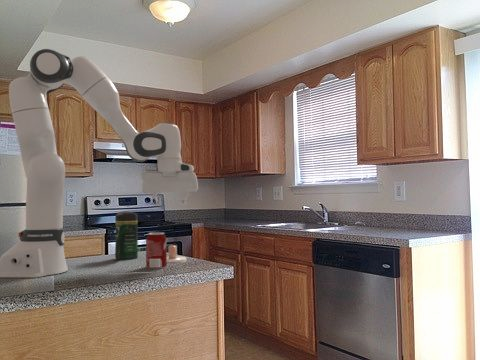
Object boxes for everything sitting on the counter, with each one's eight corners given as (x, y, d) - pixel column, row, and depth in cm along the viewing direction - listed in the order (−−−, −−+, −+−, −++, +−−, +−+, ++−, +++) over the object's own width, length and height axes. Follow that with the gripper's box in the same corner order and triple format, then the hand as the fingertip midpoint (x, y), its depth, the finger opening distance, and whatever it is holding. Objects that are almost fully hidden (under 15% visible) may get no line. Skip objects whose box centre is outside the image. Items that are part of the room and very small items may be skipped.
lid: (158, 263, 151) (157, 248, 152) (159, 258, 161) (159, 244, 161) (186, 262, 153) (186, 247, 153) (186, 257, 163) (186, 244, 163)
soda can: (162, 270, 139) (161, 234, 140) (142, 270, 141) (142, 234, 141) (169, 267, 146) (169, 232, 146) (151, 266, 147) (151, 232, 148)
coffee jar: (140, 260, 162) (140, 211, 163) (119, 261, 158) (119, 212, 159) (133, 256, 171) (133, 210, 171) (113, 258, 167) (113, 211, 167)
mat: (158, 264, 151) (158, 263, 151) (159, 260, 161) (159, 258, 161) (186, 263, 153) (186, 262, 153) (186, 259, 163) (186, 257, 163)
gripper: (139, 168, 153) (140, 206, 153) (196, 166, 153) (198, 204, 153) (143, 168, 159) (144, 205, 159) (197, 166, 160) (199, 203, 160)
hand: (171, 205), depth 156 cm, fingers open, 8 cm apart
